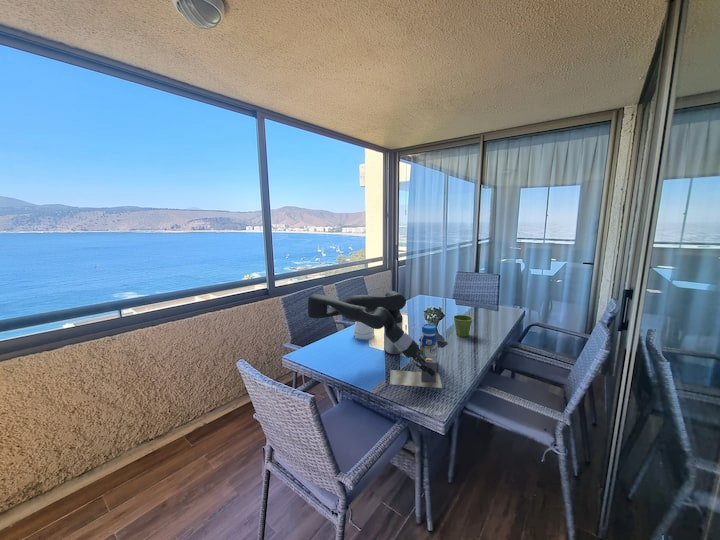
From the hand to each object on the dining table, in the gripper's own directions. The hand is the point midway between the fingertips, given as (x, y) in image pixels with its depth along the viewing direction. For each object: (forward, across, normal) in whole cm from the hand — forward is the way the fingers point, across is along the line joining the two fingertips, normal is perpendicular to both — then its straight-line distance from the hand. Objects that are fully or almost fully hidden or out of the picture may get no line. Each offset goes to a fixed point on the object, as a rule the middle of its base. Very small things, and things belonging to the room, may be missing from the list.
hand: (433, 372), depth 126 cm
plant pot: (+20, -59, +13) cm, 64 cm away
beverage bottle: (+3, -17, -4) cm, 18 cm away
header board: (-2, 0, -9) cm, 9 cm away
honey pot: (-23, -50, -30) cm, 63 cm away
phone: (+7, -45, -1) cm, 46 cm away
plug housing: (+1, 0, -4) cm, 4 cm away
